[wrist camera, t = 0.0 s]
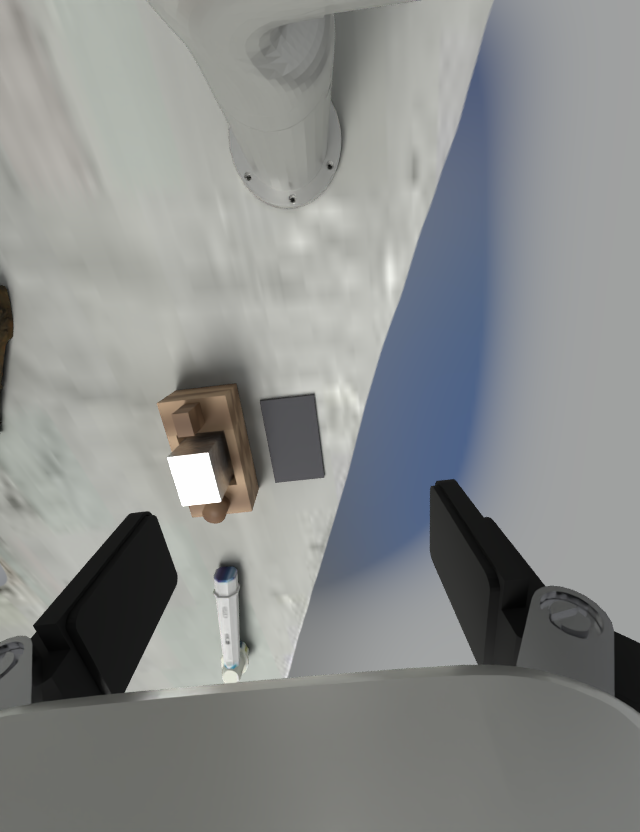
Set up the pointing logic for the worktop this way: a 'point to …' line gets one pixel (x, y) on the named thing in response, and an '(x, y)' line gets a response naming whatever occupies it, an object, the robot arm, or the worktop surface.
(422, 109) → the worktop surface
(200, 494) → the silver block
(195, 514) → the body
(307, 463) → the rubber mat
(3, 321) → the hand tool
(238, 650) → the electric toothbrush
